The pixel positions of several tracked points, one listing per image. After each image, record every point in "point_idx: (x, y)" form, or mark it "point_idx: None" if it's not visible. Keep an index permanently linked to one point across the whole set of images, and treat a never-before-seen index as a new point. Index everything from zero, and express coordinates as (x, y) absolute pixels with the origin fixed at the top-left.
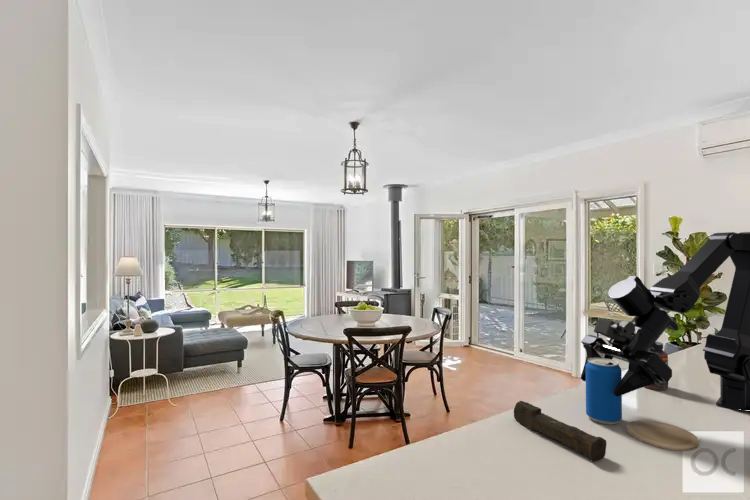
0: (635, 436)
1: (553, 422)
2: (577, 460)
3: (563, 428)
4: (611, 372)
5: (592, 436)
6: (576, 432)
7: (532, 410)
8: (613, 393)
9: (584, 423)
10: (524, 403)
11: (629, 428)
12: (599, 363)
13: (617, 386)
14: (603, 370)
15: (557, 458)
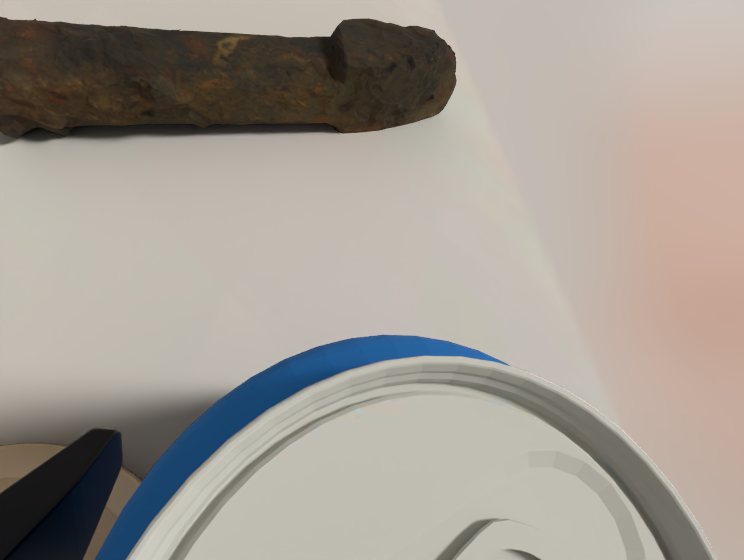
0: (46, 444)
1: (229, 39)
2: None
3: (162, 30)
4: (102, 553)
5: (8, 48)
6: (89, 30)
7: (343, 21)
8: (117, 431)
9: (311, 332)
10: (415, 39)
11: (123, 493)
12: (423, 556)
13: (45, 487)
14: (200, 418)
15: (120, 12)
